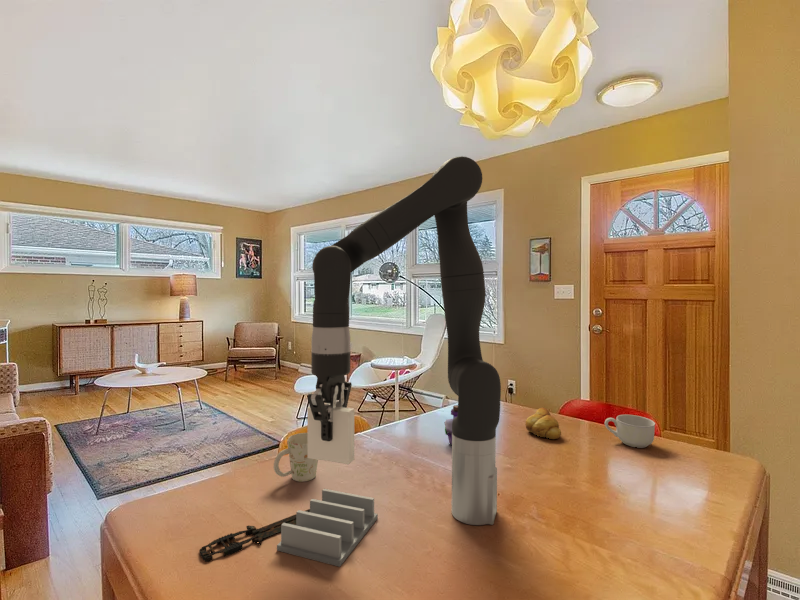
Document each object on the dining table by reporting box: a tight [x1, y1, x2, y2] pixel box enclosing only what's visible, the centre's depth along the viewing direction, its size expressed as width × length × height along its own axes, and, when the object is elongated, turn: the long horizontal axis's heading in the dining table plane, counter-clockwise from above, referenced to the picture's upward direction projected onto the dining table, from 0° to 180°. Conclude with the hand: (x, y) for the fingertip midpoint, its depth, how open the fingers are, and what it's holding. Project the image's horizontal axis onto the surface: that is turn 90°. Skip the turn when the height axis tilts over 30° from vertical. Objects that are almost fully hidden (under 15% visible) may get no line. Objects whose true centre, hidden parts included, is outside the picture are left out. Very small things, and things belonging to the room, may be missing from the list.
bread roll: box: [525, 407, 562, 440], centre depth 139 cm, size 13×10×8 cm
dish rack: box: [276, 488, 378, 568], centre depth 81 cm, size 16×13×4 cm
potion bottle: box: [444, 404, 458, 446], centre depth 130 cm, size 9×9×12 cm
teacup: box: [604, 414, 656, 449], centre depth 131 cm, size 14×11×8 cm
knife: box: [198, 508, 310, 563], centre depth 81 cm, size 25×6×1 cm, turn 126°
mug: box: [273, 432, 319, 483], centre depth 105 cm, size 8×13×10 cm, turn 137°
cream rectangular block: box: [307, 406, 355, 465], centre depth 81 cm, size 2×9×10 cm, turn 70°
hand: (330, 437), depth 81 cm, fingers closed on cream rectangular block, 2 cm apart
